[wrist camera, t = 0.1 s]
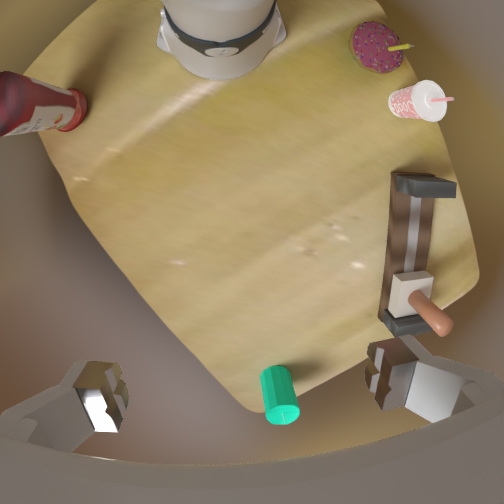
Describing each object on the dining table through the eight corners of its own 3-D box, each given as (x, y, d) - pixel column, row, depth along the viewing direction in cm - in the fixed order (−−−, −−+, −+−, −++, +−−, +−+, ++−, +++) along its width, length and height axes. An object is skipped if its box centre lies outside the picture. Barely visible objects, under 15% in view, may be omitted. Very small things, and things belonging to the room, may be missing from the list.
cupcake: (396, 54, 40) (437, 39, 28) (371, 88, 42) (412, 78, 30) (356, 21, 37) (389, -5, 26) (329, 54, 39) (359, 31, 28)
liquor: (88, 81, 38) (-36, 46, 12) (94, 124, 40) (-35, 124, 14) (50, 97, 38) (-79, 87, 12) (56, 139, 40) (-76, 158, 14)
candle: (262, 364, 57) (270, 410, 46) (292, 365, 58) (305, 410, 47) (257, 386, 59) (264, 431, 48) (286, 387, 60) (297, 431, 49)
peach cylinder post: (393, 274, 50) (433, 311, 38) (425, 270, 50) (467, 304, 38) (387, 309, 52) (422, 351, 40) (418, 304, 53) (456, 342, 41)
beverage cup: (380, 88, 42) (430, 76, 29) (410, 84, 42) (463, 75, 28) (389, 124, 44) (441, 124, 31) (418, 119, 44) (472, 120, 31)
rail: (390, 171, 47) (417, 179, 39) (428, 173, 47) (456, 180, 39) (377, 316, 56) (395, 340, 48) (411, 310, 56) (431, 332, 49)
